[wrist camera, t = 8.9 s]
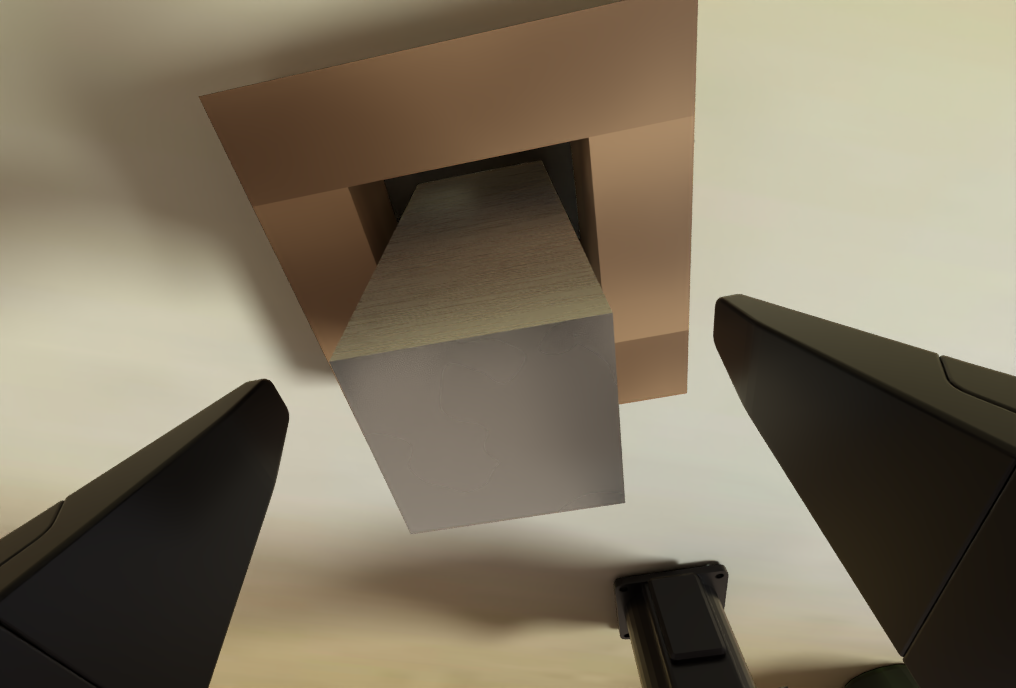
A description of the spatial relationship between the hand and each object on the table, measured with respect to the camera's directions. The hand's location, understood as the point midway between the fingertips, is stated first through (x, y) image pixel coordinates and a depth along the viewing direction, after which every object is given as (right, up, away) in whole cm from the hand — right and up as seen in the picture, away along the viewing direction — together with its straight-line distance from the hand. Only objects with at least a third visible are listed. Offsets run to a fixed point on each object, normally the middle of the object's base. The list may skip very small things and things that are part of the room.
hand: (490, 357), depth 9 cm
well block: (0, +4, +7) cm, 8 cm away
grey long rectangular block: (0, +4, +7) cm, 8 cm away
